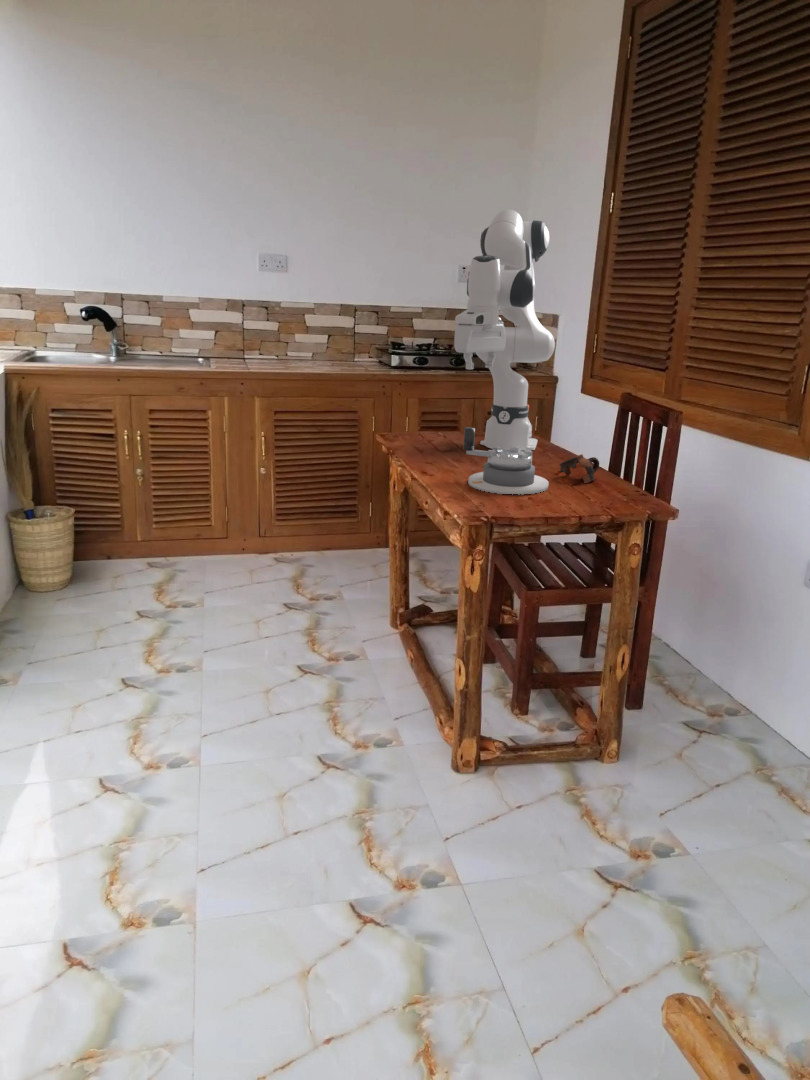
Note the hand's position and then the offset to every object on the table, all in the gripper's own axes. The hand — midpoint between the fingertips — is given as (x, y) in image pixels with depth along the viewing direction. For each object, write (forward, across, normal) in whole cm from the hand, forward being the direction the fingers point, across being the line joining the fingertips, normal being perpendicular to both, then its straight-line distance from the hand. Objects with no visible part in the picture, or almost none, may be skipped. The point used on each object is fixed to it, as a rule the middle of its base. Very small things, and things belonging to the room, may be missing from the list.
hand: (479, 368), depth 226 cm
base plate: (+30, +4, +15) cm, 34 cm away
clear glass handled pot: (+25, +6, +11) cm, 28 cm away
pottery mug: (+30, -16, +26) cm, 43 cm away
